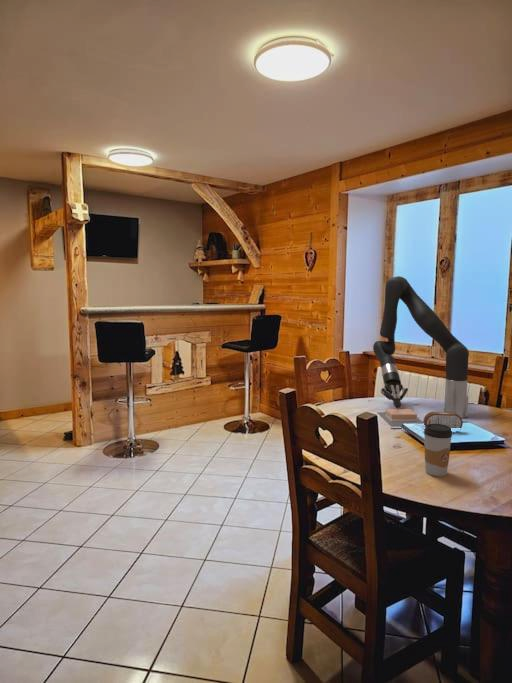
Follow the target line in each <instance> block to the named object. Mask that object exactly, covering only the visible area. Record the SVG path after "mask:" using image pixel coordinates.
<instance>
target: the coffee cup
mask: <svg viewBox="0 0 512 683" xmlns="http://www.w3.org/2000/svg"><path fill="white" fill-rule="evenodd" d="M424 428H425V429H423V430H424V431H423V435H424V465H425V466H424V467H425V468H424V470H425V472H426V474H428V475H430V476H431V477H432V476H433V477H445V476H446V475H447V473H448V468H449V462H450V454H451V443H452V437H453V433H452V431H451V428H450V427H449V426H446V425H442V424H427V425H426V427H424Z"/></svg>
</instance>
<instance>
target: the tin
mask: <svg viewBox="0 0 512 683" xmlns="http://www.w3.org/2000/svg"><path fill="white" fill-rule="evenodd" d="M423 422H424V425H425V426H424V428H426V425H427V424H442V425H446V426H449V427H450V428H461V429H462V427H463V426H464V425H463V423H464V421H463V418H461V417H460V416H459V415H458V414H457V413H454V412H444V411H431V412H427V414H426V415H424V417H423Z"/></svg>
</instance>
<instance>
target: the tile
mask: <svg viewBox="0 0 512 683" xmlns="http://www.w3.org/2000/svg"><path fill="white" fill-rule="evenodd" d="M385 416H386V417H388V418H389V419H390V420H391V421H417V417H418V413H416V412H415V411H413V410H412V409H410V408H385Z"/></svg>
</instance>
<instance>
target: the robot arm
mask: <svg viewBox="0 0 512 683" xmlns="http://www.w3.org/2000/svg"><path fill="white" fill-rule="evenodd" d="M400 300H401V301H402V302H403V303H404V304H405V306H406V307H407V309H408V311H409V313H410V315H411V317H412V318H413V321H414V322H415V323H416V325H418V327H419V328H420V329H421V330H422V331H423V332H424V333H425V334H426V335H428V336H429V337H430V338H431V339H433V340H434V341H435V342H436V343H437V344H439V346H440V347H441V348H442V349H443V351H444V353H445V385H444V386H445V387H444V388H445V389H444V403H443V404H444V406H443V407H444V408H443V412H454V413H457V414H458V415H459V416H460V417H461V419H463V418H468V417H469V416H468V415H469V414H468V413H469V396H467V395H468V378H469V377H468V376H469V375H468V374H469V357H470V351H469V349H468V347H466V346H465V345H464V344H463V343H462V342H461V341H459V339H457V338H456V336H454V335H453V333H452V332H451V331H450V330H449V328H448V327H447V326H446V325H445V323H444V322H443V320H441V318H440V317H439V316H438V315H437V313H436V312H435V311H434V310H433V309H432V308H431V307H430V306H429V305H428V304H427V303H426V302H425V301H424V299H422V298H421V296H419V295H418V293H417V292H416V291H415V290H414V288H413V287H412V286H411V284H410V283H409V281H408V279H407V278H405V277H403V276H399V275H398V276H393V277H390V278H388V280H387V281H386V283H385V289H384V308H383V313H382V314H383V315H382V322H381V323H380V324H381V326H380V330H379V331H380V332H379V336H381V337H382V338H385V339H387V341H385V340H377V341H375V342H373V345H372V346H373V348H372V349H373V353H374V355H375V357H376V358H377V359H378V361H379V363H380V369H381V377H382V380H383V384H384V386H383V387H381V390H380V394H382V395H383V396H384V397H385V398H386V399H387V400H389V401H392V403H393V406H394V407H395V409H401V408H400V407H401V406H402V402H401V401H402V400H403V399H404V398H405V396H406V395H407V392H408V391H409V389H408V387H406V388H405V387H404V386H403V384H402V382H401V381H402V380H401V378H400V374H399V370H398V367H397V365H396V361H395V358H394V356H393V355H394V353H395V351H396V343H395V342H396V340H395V338H396V337H395V333H396V329H397V324H398V305H399V302H400ZM401 391H402V393H401ZM400 394H401V395H400Z"/></svg>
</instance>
